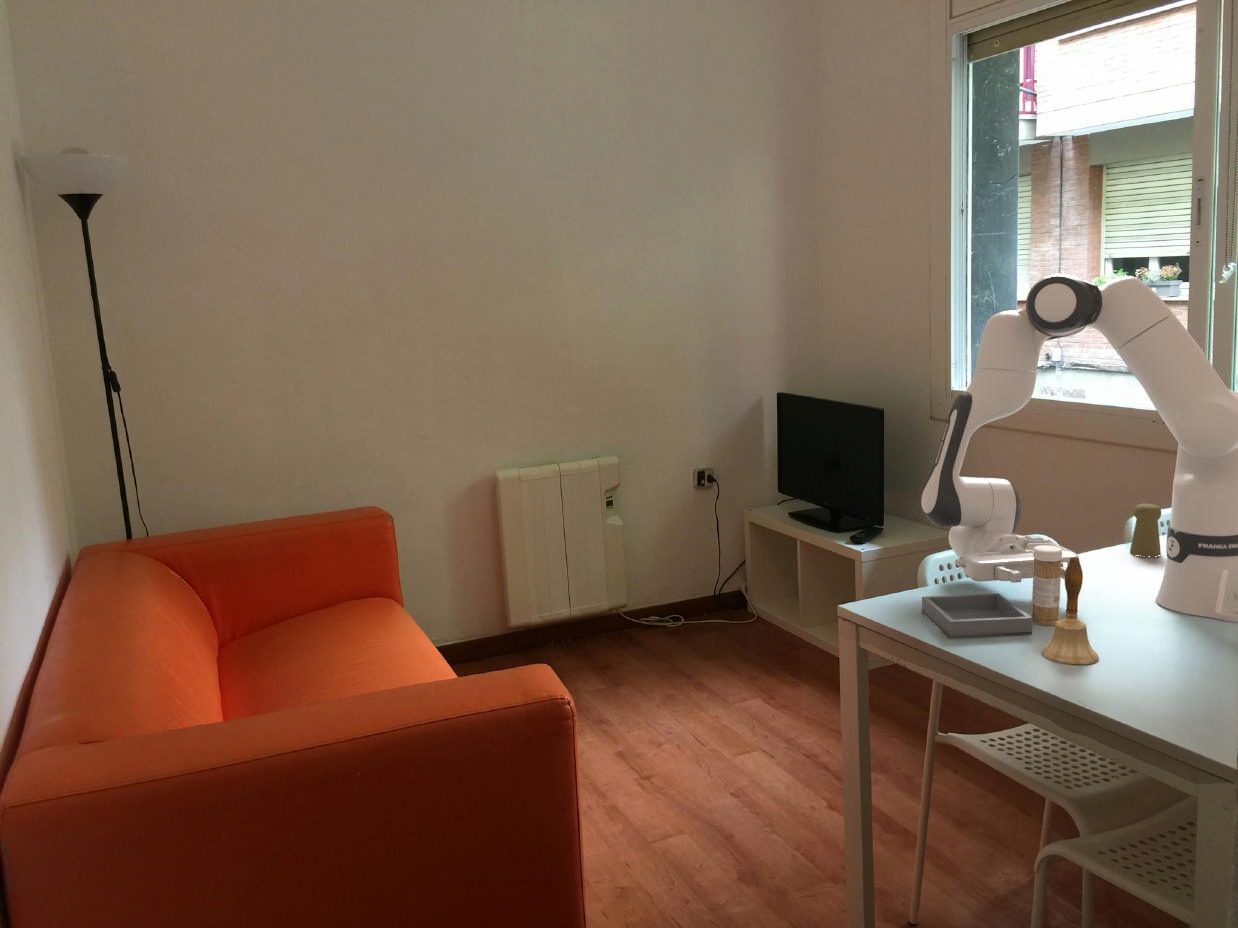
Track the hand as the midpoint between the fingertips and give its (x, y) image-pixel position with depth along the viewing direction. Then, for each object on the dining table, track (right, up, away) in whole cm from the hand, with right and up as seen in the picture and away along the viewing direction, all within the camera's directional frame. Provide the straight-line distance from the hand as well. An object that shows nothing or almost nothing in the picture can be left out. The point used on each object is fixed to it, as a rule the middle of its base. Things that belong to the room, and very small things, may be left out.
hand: (1043, 576), depth 171 cm
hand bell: (-3, -11, -16) cm, 19 cm away
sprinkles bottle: (0, -8, 0) cm, 8 cm away
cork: (+40, 0, +41) cm, 57 cm away
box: (-12, -8, +1) cm, 14 cm away
